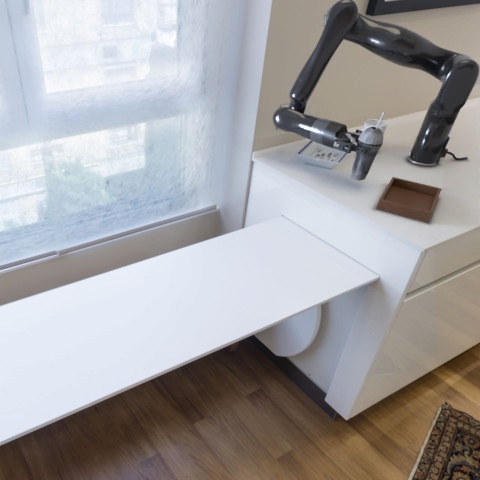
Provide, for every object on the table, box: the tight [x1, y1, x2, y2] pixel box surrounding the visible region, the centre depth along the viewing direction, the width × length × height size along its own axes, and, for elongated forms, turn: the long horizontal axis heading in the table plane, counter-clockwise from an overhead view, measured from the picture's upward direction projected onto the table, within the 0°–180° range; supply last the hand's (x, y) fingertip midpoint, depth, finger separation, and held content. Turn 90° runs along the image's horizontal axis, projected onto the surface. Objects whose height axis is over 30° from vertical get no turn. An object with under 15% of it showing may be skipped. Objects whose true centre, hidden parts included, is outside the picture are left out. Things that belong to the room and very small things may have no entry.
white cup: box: [361, 118, 389, 136], centre depth 162 cm, size 8×8×10 cm
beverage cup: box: [350, 111, 386, 181], centre depth 135 cm, size 7×7×20 cm
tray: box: [375, 176, 442, 224], centre depth 134 cm, size 19×15×3 cm
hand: (375, 148), depth 133 cm, fingers closed on beverage cup, 7 cm apart
